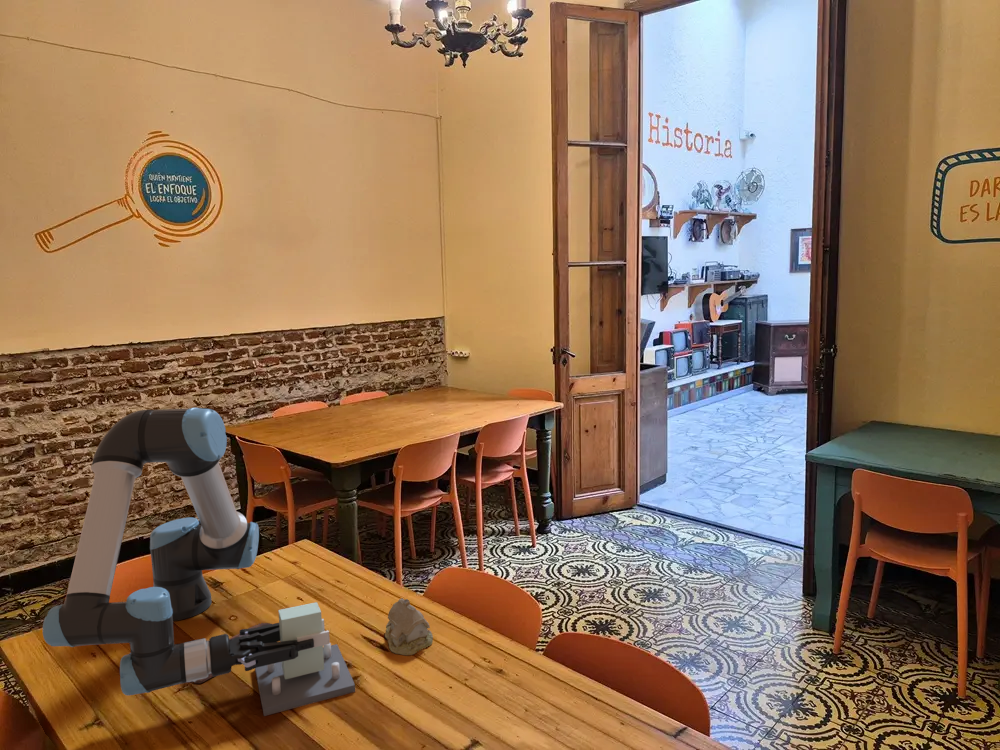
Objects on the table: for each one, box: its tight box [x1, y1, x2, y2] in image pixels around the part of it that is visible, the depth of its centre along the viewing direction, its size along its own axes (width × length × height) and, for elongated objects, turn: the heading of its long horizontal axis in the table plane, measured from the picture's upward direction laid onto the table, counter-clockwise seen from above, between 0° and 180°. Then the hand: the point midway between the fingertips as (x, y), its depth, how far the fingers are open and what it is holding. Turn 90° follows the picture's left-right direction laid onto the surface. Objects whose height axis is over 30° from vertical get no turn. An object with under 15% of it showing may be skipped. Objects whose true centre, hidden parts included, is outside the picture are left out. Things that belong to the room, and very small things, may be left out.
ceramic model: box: [384, 598, 434, 656], centre depth 159 cm, size 14×11×10 cm
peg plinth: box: [254, 642, 356, 717], centre depth 143 cm, size 18×18×4 cm
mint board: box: [277, 602, 324, 679], centre depth 142 cm, size 5×8×13 cm, turn 115°
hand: (326, 631), depth 144 cm, fingers closed on mint board, 5 cm apart
